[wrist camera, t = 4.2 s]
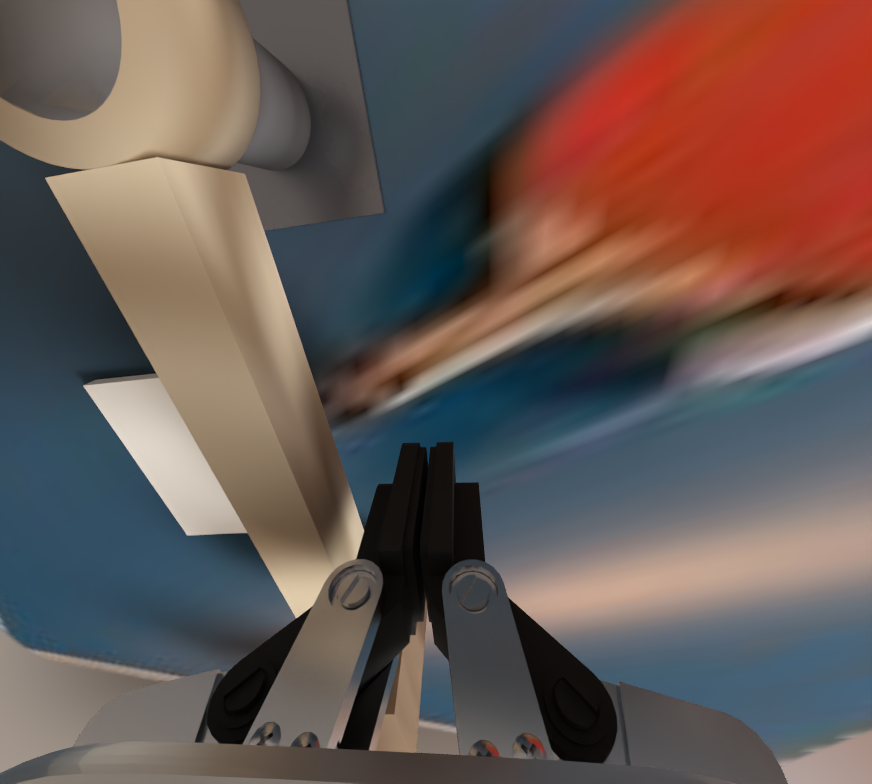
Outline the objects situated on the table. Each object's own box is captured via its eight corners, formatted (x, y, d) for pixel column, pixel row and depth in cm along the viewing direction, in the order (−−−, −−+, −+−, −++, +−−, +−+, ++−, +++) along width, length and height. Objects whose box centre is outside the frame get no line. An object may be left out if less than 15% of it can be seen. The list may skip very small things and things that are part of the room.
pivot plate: (341, -40, 9) (337, -48, 9) (385, 212, 12) (384, 212, 11) (140, 8, 10) (132, 2, 9) (227, 236, 12) (222, 236, 12)
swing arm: (171, 37, 9) (-285, -244, 4) (307, 6, 9) (33, -370, 3) (349, 529, 19) (301, 670, 13) (420, 526, 18) (403, 670, 12)
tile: (297, 358, 15) (290, 364, 14) (352, 519, 19) (350, 528, 19) (95, 379, 16) (82, 385, 15) (194, 526, 20) (187, 535, 20)
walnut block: (417, 533, 20) (394, 714, 12) (428, 586, 22) (415, 763, 15) (335, 537, 20) (269, 712, 13) (355, 587, 22) (308, 759, 15)
